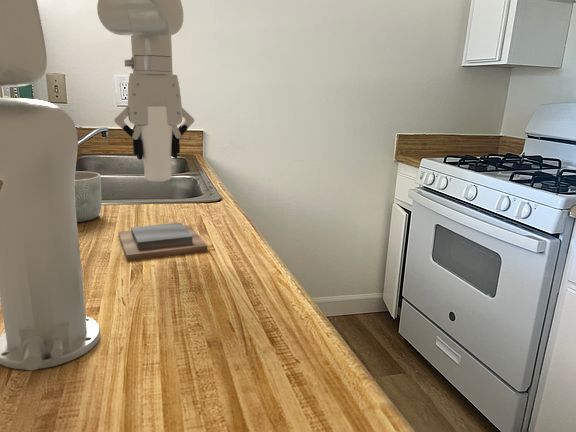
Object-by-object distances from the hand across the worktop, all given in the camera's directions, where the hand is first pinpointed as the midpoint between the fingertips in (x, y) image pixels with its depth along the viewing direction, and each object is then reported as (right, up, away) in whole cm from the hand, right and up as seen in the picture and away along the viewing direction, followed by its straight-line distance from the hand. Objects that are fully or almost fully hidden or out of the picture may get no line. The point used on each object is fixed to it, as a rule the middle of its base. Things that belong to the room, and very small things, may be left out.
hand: (157, 157), depth 98 cm
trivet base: (0, -18, +5) cm, 19 cm away
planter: (-26, -13, +22) cm, 37 cm away
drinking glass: (0, -5, +1) cm, 5 cm away
